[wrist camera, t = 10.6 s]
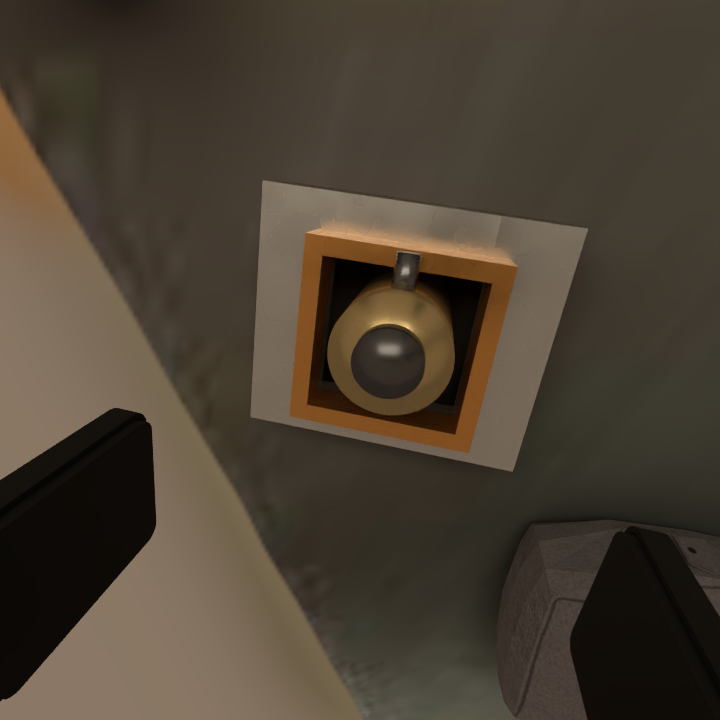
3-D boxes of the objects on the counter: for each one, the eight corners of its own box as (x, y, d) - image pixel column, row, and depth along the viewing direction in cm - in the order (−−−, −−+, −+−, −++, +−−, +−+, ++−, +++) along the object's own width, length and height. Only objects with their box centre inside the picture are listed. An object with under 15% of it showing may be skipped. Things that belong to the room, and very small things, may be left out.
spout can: (440, 358, 26) (440, 436, 18) (355, 342, 26) (316, 410, 18) (465, 244, 23) (478, 273, 15) (370, 229, 24) (334, 249, 16)
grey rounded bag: (477, 647, 33) (777, 712, 31) (487, 785, 25) (891, 888, 23) (521, 473, 28) (891, 535, 25) (552, 583, 20) (1091, 688, 17)
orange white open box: (563, 222, 22) (604, 232, 17) (503, 432, 27) (519, 496, 21) (290, 182, 24) (244, 179, 18) (275, 387, 28) (234, 435, 23)
